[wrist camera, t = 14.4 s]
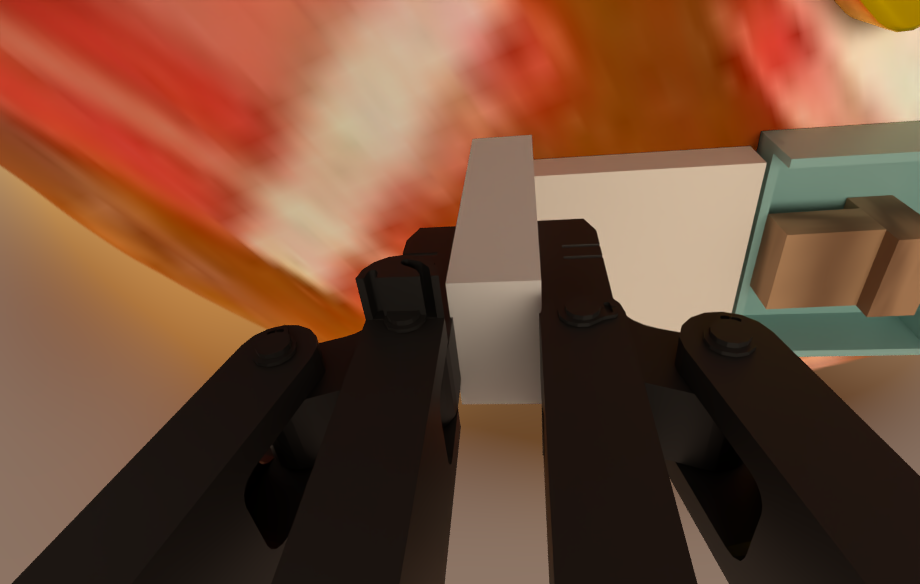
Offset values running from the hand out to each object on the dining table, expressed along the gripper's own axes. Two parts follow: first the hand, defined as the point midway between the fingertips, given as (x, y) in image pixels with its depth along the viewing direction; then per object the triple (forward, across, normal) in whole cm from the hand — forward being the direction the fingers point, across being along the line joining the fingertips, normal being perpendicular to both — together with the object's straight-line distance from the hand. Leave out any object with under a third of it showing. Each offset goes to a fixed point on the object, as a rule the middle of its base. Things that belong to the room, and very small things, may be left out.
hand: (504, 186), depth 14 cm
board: (+24, +8, -16) cm, 30 cm away
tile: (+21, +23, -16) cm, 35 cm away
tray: (+24, +23, -16) cm, 37 cm away
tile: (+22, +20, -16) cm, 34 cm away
